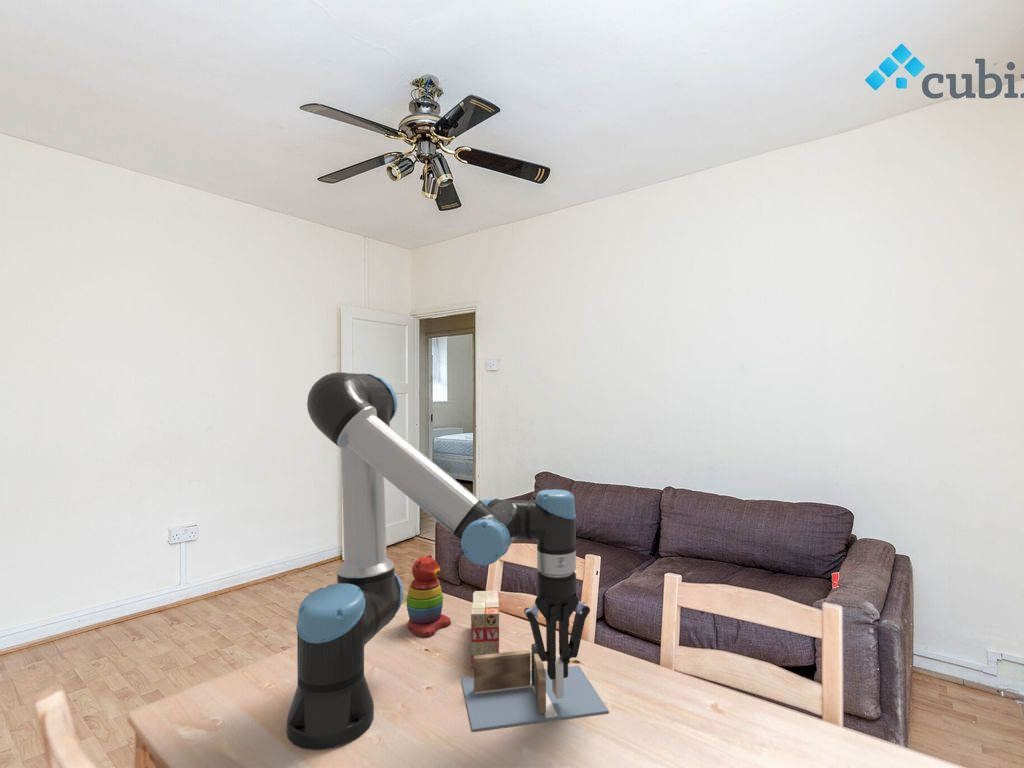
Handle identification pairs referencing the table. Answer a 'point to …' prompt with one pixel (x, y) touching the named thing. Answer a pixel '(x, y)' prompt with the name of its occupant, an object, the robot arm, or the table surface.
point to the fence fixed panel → (503, 670)
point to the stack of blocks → (484, 624)
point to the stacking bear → (425, 599)
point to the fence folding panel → (540, 683)
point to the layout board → (531, 702)
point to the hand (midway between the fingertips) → (557, 694)
